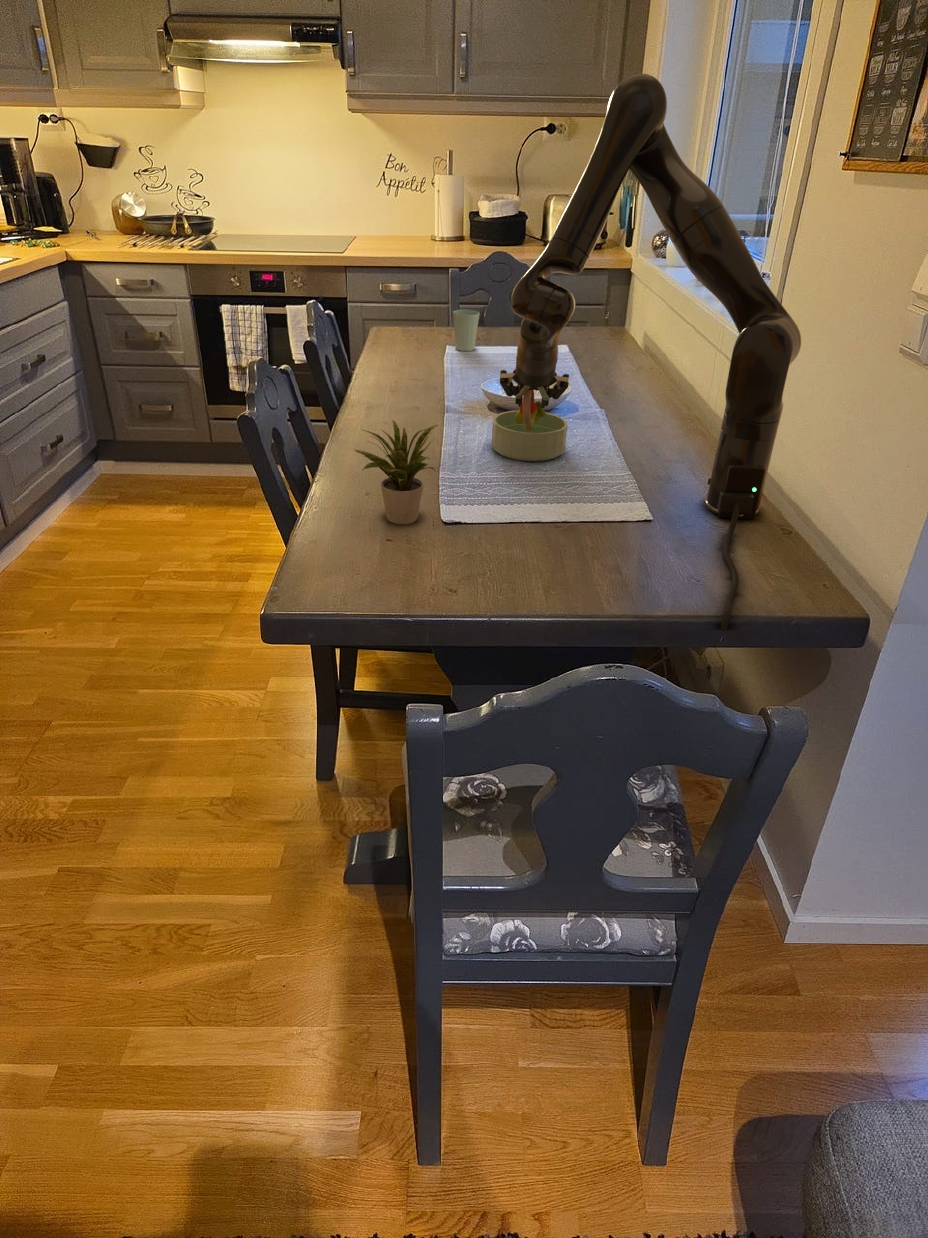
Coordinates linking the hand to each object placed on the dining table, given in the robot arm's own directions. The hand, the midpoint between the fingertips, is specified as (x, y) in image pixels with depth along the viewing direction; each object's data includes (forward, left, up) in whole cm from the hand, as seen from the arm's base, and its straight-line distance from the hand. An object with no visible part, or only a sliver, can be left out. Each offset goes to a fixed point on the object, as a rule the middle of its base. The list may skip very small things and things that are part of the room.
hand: (531, 403), depth 171 cm
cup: (+83, +19, -9) cm, 86 cm away
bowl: (-2, 0, -9) cm, 9 cm away
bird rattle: (-2, 0, -4) cm, 5 cm away
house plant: (-39, +21, -9) cm, 45 cm away
